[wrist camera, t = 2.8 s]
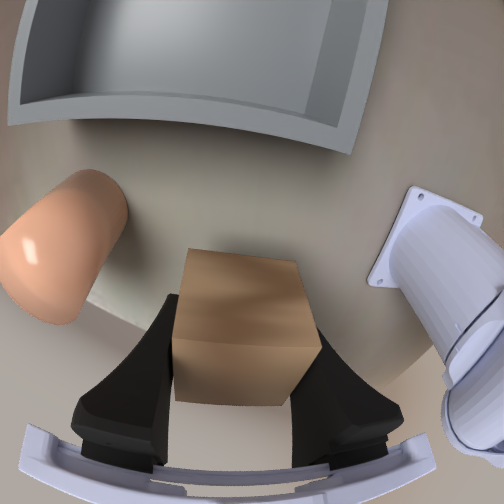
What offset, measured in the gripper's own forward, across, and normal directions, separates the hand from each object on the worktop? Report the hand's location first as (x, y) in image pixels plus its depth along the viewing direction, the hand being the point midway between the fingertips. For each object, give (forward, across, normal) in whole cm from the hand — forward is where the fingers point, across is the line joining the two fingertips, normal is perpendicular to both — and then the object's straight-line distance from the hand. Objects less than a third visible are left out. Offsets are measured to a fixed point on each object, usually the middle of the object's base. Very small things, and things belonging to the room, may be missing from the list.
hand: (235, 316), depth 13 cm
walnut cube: (+2, 0, 0) cm, 2 cm away
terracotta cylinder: (+5, +9, -2) cm, 11 cm away
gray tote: (+5, +4, -17) cm, 18 cm away
